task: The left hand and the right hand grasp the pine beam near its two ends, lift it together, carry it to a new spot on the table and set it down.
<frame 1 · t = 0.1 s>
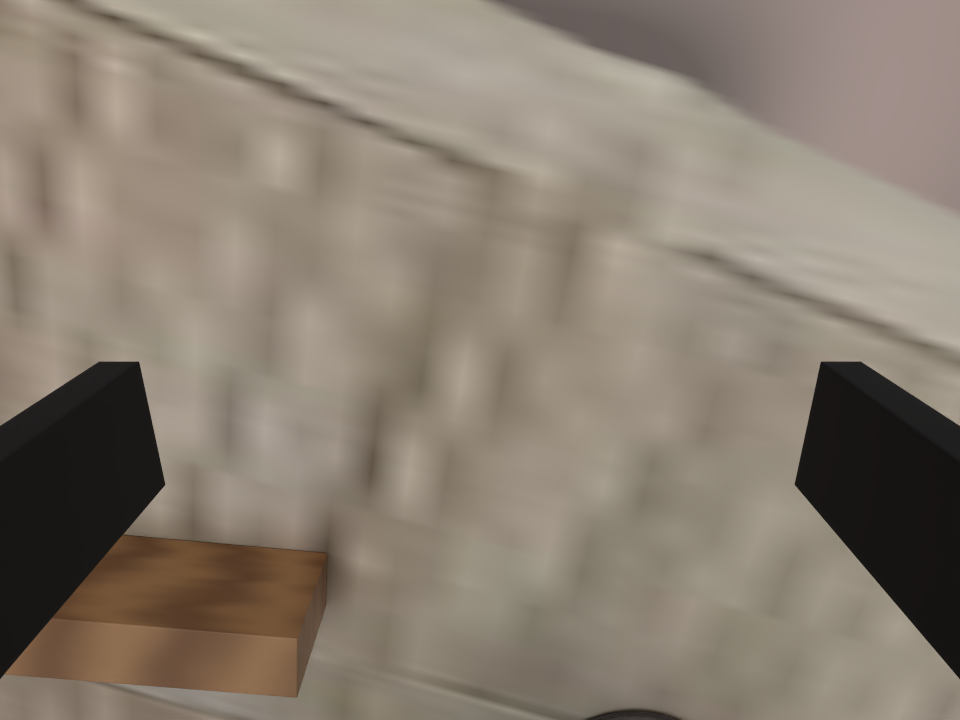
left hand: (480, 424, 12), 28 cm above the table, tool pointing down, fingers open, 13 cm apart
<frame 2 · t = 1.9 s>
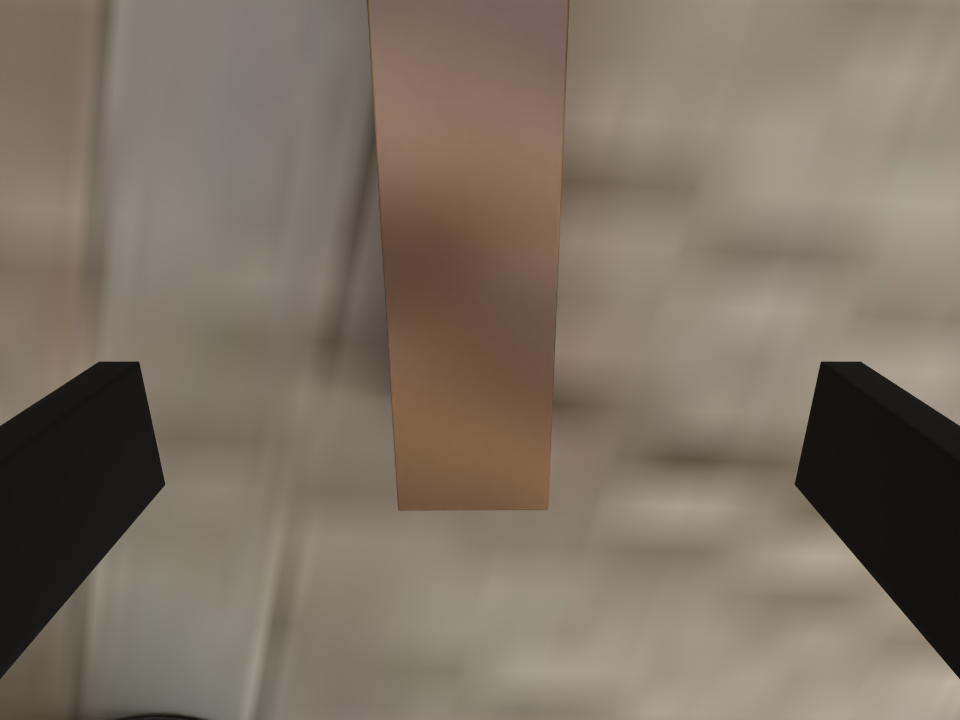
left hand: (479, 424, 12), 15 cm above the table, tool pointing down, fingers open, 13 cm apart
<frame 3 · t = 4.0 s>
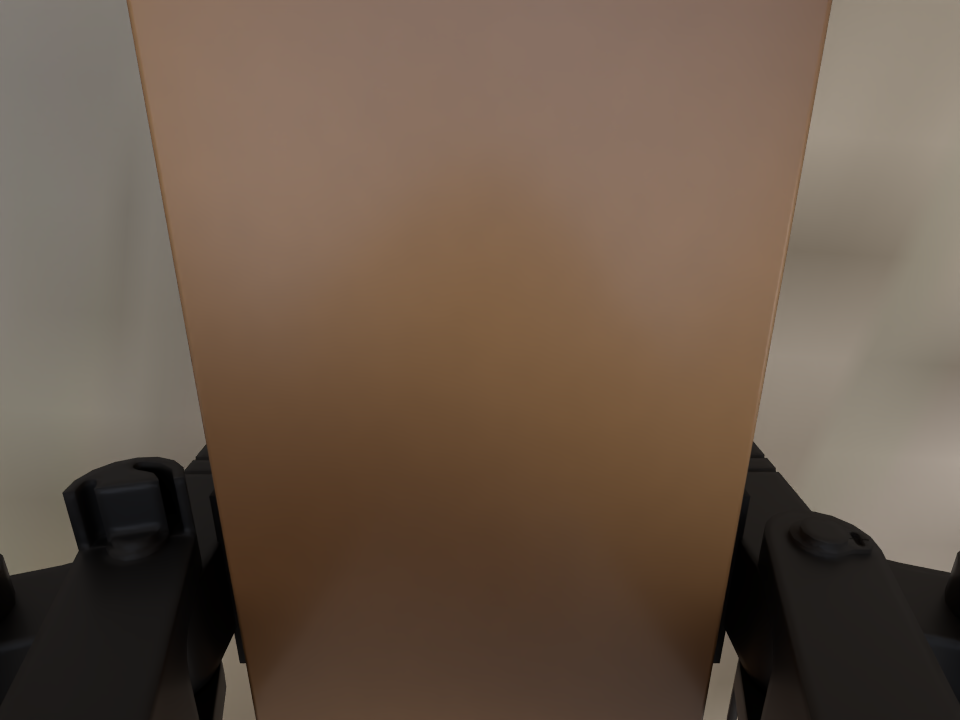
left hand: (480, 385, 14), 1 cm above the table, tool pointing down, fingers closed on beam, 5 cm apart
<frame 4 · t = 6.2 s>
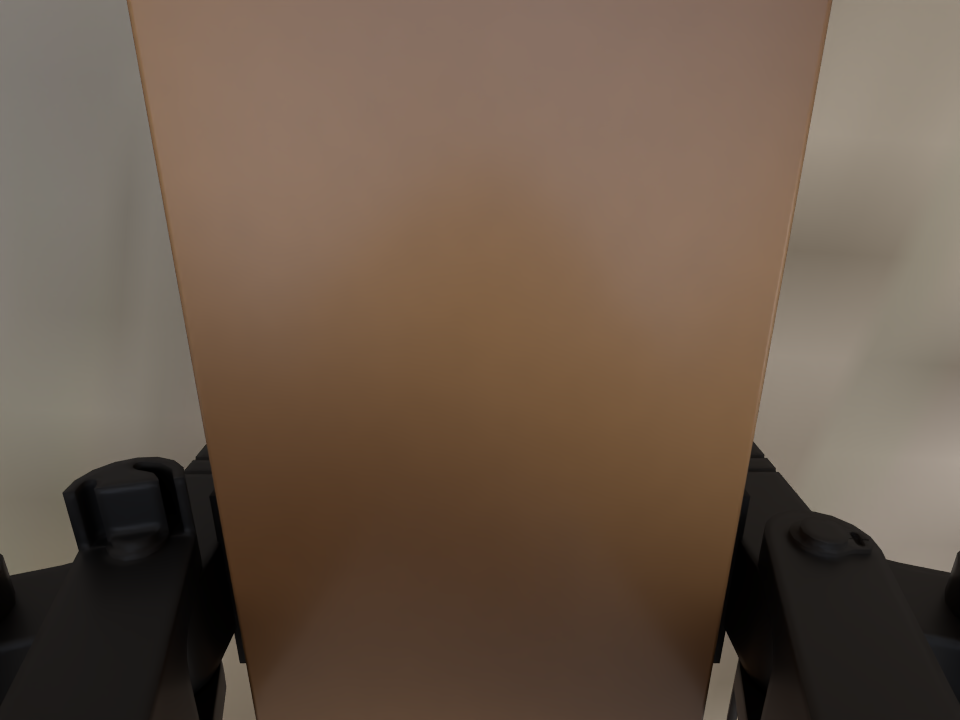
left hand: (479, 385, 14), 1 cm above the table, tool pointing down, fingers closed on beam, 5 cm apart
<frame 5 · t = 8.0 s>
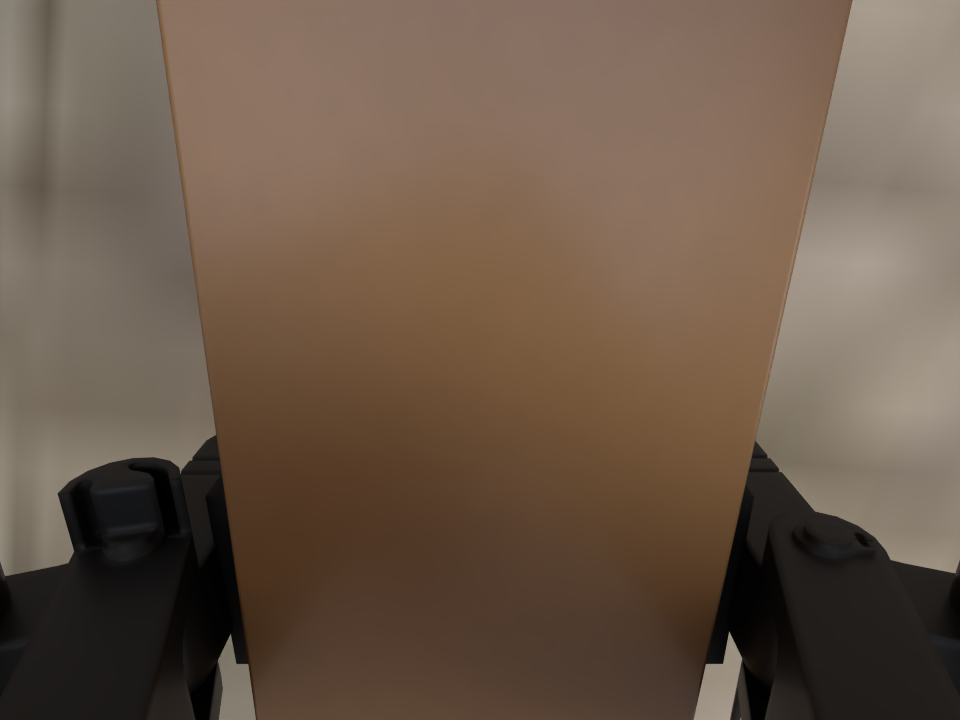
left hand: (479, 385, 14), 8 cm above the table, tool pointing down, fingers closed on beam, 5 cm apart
when the left hand's fingers open (2 cm above the table, at t = 10.0 s): beam drops 1 cm, on the table.
when the right hand's fingers open (2 cm above the table, at t = 10.0 s): beam drops 1 cm, on the table.
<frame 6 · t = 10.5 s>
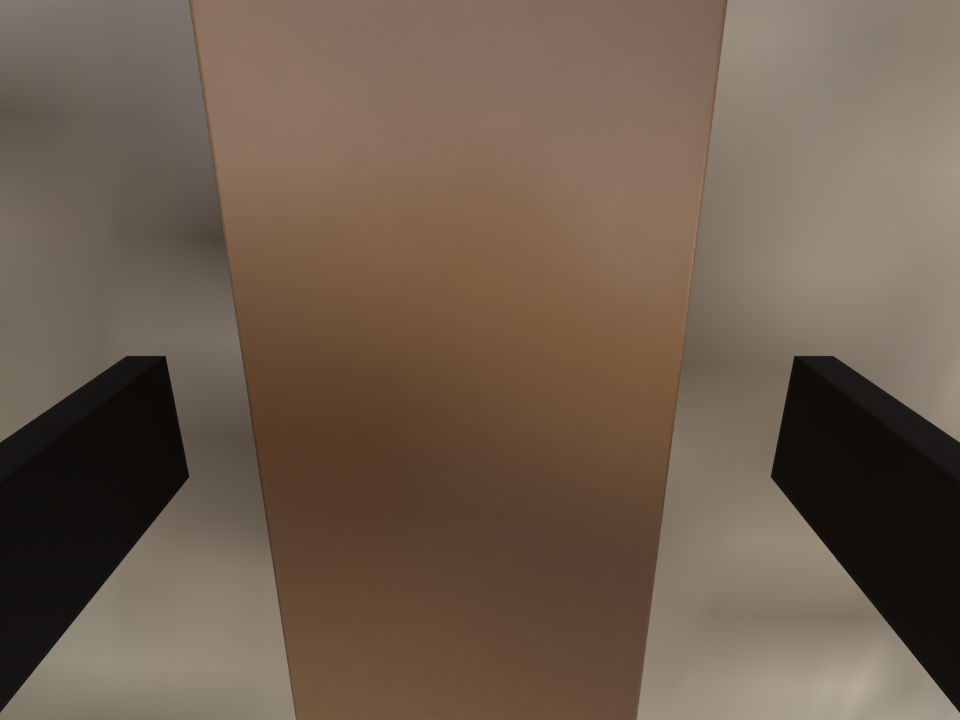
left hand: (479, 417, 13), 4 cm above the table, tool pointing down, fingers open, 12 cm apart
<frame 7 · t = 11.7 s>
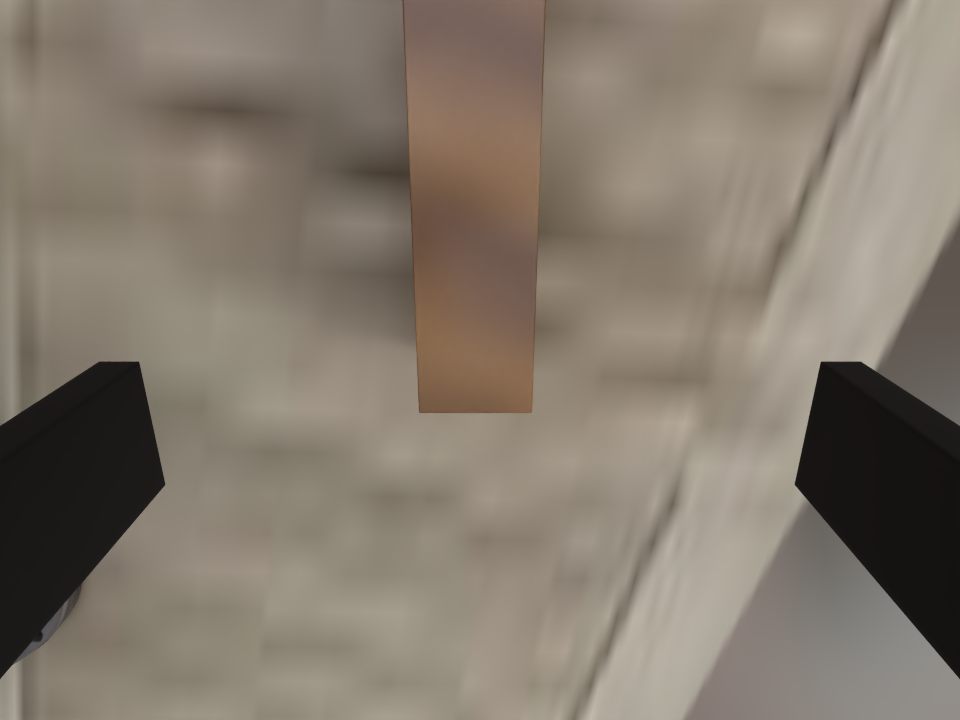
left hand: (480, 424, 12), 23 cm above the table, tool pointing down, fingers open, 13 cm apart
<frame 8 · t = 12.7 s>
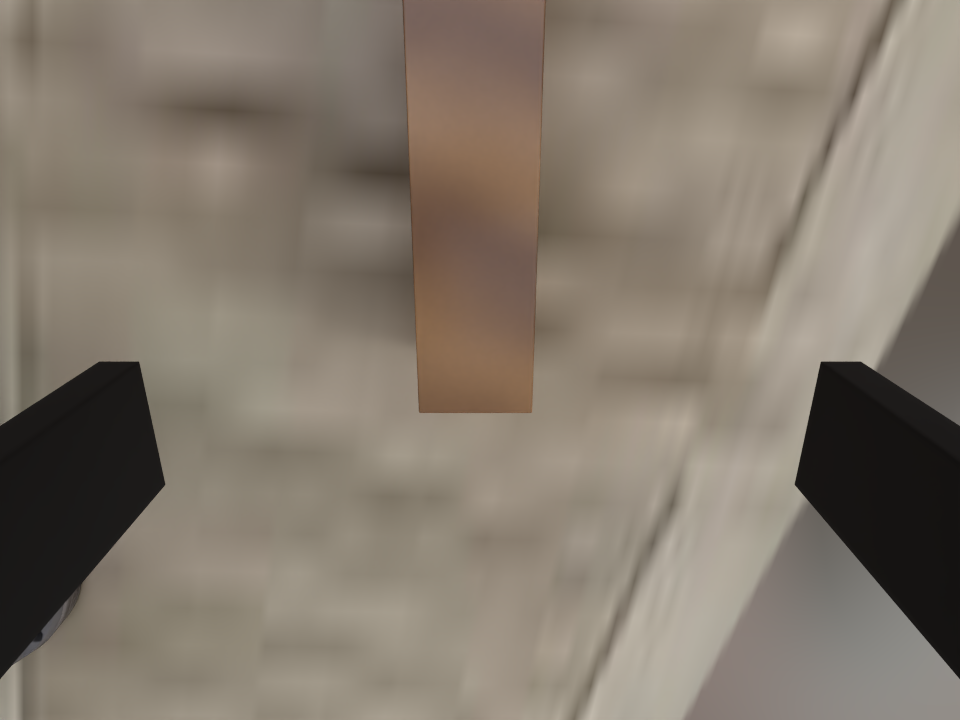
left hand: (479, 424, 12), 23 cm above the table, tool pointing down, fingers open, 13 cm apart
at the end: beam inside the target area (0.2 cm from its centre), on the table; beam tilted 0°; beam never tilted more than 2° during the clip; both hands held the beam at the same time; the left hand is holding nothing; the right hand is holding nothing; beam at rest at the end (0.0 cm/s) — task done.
